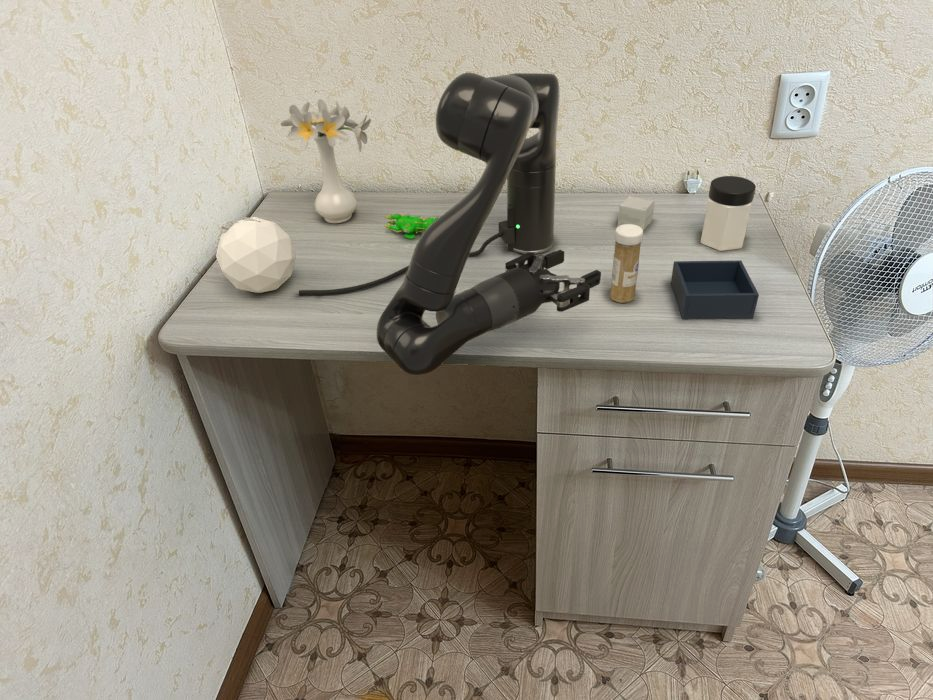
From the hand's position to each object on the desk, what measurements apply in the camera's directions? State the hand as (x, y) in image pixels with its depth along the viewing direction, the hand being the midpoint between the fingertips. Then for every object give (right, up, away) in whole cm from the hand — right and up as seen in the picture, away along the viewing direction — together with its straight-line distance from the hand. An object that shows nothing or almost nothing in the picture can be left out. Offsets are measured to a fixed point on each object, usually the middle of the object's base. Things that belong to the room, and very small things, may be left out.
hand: (580, 265), depth 111 cm
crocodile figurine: (-27, +11, +34) cm, 45 cm away
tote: (+24, -5, +9) cm, 26 cm away
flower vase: (-47, +16, +43) cm, 65 cm away
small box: (+17, +13, +33) cm, 39 cm away
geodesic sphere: (-57, -2, +21) cm, 61 cm away
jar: (+32, +8, +26) cm, 42 cm away
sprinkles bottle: (+9, -4, +12) cm, 15 cm away
